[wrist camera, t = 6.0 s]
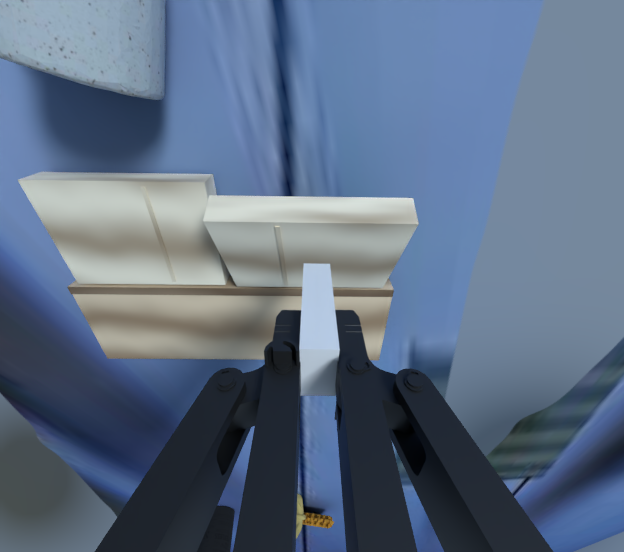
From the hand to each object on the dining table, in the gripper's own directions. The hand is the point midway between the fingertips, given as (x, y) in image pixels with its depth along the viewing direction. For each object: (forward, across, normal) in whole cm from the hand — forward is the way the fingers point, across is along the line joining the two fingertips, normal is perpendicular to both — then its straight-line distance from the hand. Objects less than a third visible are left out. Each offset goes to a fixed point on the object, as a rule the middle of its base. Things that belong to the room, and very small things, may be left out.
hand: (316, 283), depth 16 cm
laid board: (+8, -7, -9) cm, 14 cm away
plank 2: (+6, 0, 0) cm, 6 cm away
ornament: (+10, -1, -56) cm, 57 cm away
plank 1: (+8, -14, 0) cm, 16 cm away
